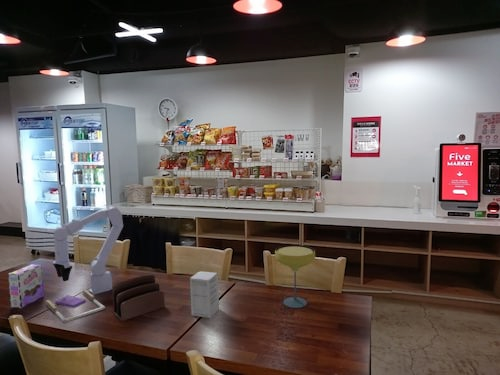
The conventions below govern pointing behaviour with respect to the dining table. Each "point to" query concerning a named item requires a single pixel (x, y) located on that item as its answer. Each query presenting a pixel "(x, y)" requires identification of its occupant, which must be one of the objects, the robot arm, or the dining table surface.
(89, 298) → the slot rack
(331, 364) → the dining table surface
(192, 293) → the supplement box
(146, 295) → the letter holder
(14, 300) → the candy box
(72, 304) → the sponges
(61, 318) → the frame
